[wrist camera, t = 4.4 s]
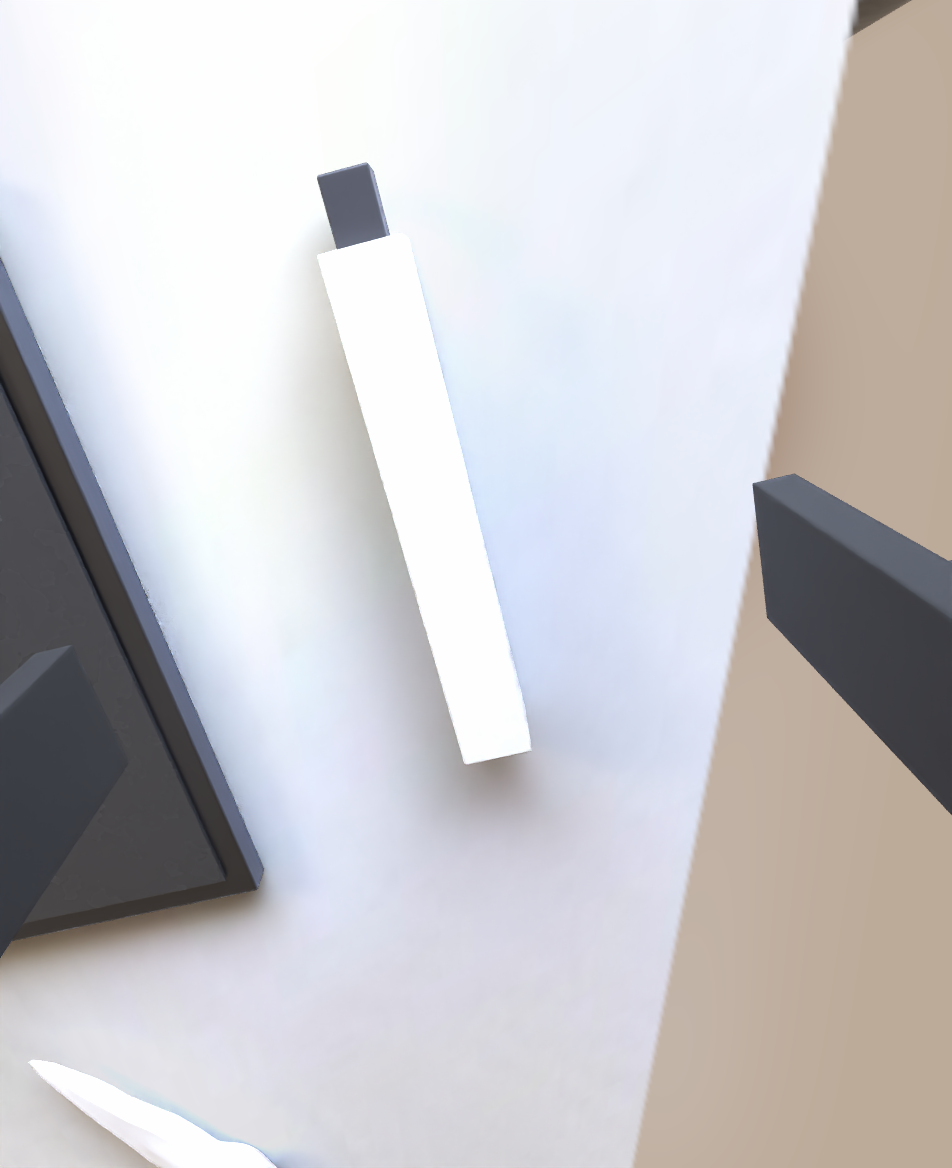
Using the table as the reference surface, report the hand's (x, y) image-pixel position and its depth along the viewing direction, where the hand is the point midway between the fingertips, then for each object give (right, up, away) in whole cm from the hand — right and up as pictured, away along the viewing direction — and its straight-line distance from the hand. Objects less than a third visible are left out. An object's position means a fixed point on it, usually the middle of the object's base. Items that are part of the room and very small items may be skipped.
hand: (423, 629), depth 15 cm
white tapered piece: (-10, -21, +17) cm, 29 cm away
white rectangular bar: (0, +3, +7) cm, 8 cm away
